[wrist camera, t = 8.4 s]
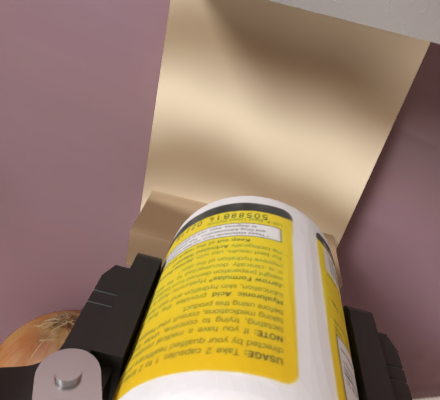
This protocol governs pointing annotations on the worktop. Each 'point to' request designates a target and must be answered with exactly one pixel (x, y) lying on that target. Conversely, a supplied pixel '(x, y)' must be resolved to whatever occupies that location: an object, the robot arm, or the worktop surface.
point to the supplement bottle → (243, 312)
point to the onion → (37, 339)
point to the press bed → (268, 113)
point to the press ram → (382, 14)
